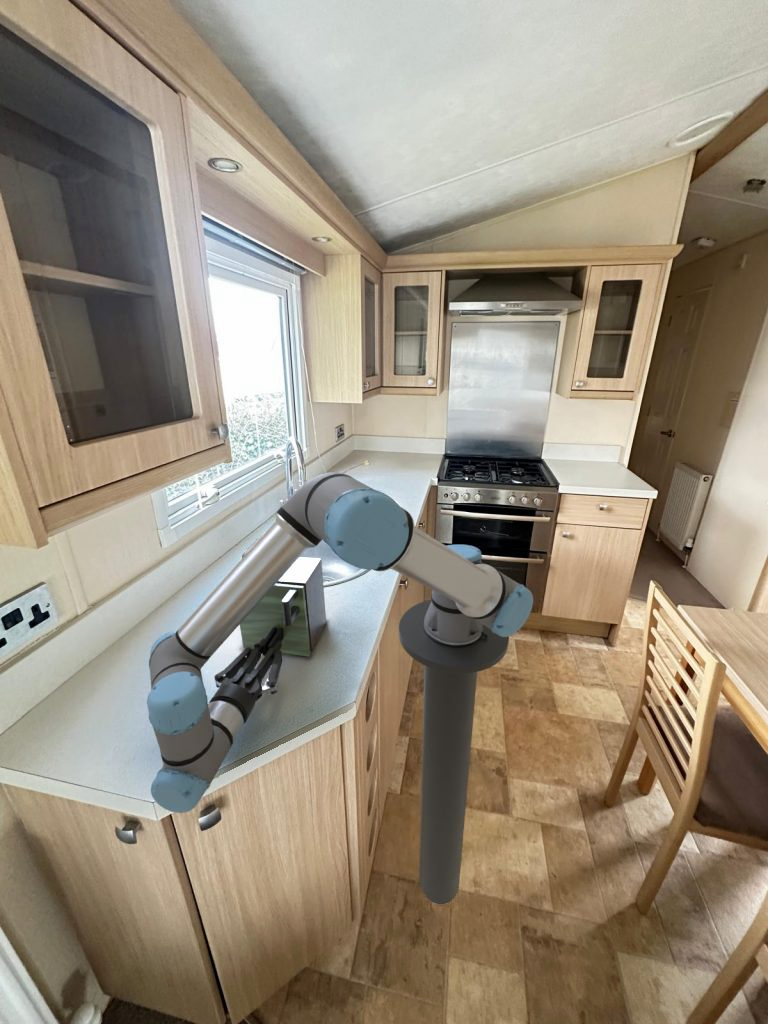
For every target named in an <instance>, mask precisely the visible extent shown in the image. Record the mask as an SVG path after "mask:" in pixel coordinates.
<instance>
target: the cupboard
mask: <svg viewBox="0 0 768 1024" xmlns="http://www.w3.org/2000/svg"><path fill="white" fill-rule="evenodd" d="M277 583H278V584H288V585H298V586H304V592H305V602H306V612H307V622H308V632H309V643H310V653H312V652H313V651H314V649H315V646H316V645H317V642H318V641H319V639H320V636H321V634H322V632H323V629H324V627H325V626H326V624H327V613H326V601H325V600H326V599H325V587H324V577H323V563H322V558H319V557H304V556H303V557H302V556H300V557H299V558H298V559H297V560H296V562H295V563H294V564H293V565H292V566H291V567H290V568H289V569H288V571H287V572H286V573H285V574H284V575H283V576H282V577H281V578H280V580H279V581H278V582H277Z"/></svg>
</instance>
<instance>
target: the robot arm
mask: <svg viewBox="0 0 768 1024" xmlns="http://www.w3.org/2000/svg"><path fill="white" fill-rule="evenodd" d="M414 521H415V520H414V518H413V516H412V514H411V513H410V512H409V511H408V510H406V509H405V508H404V507H402V506H400V504H398V503H397V502H396V500H395V499H393V497H391V496H389V495H388V494H386V493H384V492H382V491H380V490H377V489H375V488H373V487H371V486H368V485H367V484H365V483H363V482H361V481H360V480H357V479H356V478H355V477H353V476H351V475H349V474H346V473H344V472H337V471H330V472H325V473H321V474H319V475H316V476H314V477H312V478H311V479H310V480H308V481H306V482H305V483H304V484H303V485H301V486H300V487H299V488H298V489H297V490H296V491H295V492H294V493H292V495H291V496H289V497H288V499H287V500H286V501H285V502H283V504H282V506H280V508H278V509H277V511H276V512H275V521H274V522H273V523H272V525H271V526H270V527H269V528H268V529H267V530H266V532H264V533H263V534H264V535H263V534H262V535H263V536H262V537H261V538H260V539H259V541H258V542H257V543H256V544H255V545H254V546H253V547H252V548H251V549H250V551H249V552H248V553H247V554H246V555H245V556H244V557H243V558H242V557H241V559H240V560H239V562H238V563H237V564H236V565H235V566H234V567H233V568H232V569H231V570H230V572H229V573H228V574H227V575H226V576H224V578H223V579H222V581H221V582H220V583H218V585H217V586H216V587H215V588H214V589H213V590H212V591H211V592H210V594H209V595H208V596H207V597H206V598H205V599H204V600H203V602H202V603H201V604H200V605H199V606H198V607H197V608H196V609H195V610H194V612H193V613H192V614H191V615H190V616H189V617H188V618H187V619H186V620H185V621H184V623H183V624H182V625H180V627H179V628H178V629H177V630H172V631H169V632H167V633H165V634H162V635H160V636H159V637H158V638H157V639H156V640H155V641H154V642H153V643H152V646H151V647H150V652H149V659H148V668H149V676H150V677H149V679H150V691H149V693H148V695H147V698H146V705H147V711H148V719H149V723H150V724H151V726H152V729H153V733H154V735H155V738H156V741H157V745H158V748H159V753H160V757H161V761H162V767H161V769H160V770H158V771H157V773H156V776H155V777H154V779H153V781H152V783H151V785H150V794H151V797H152V798H153V800H154V801H155V803H156V804H157V805H158V806H160V807H161V808H162V809H164V810H166V811H168V812H172V813H178V814H184V813H189V812H191V811H192V810H193V809H195V808H196V807H197V806H198V804H199V803H200V800H201V799H202V798H203V796H204V795H205V793H206V792H207V790H208V789H210V787H211V784H212V782H213V781H214V779H215V777H216V775H217V774H218V772H219V770H220V768H221V766H222V764H223V763H224V761H225V759H226V757H227V756H228V754H229V751H230V749H231V748H232V746H233V745H234V742H235V741H236V739H237V738H238V736H239V735H240V732H241V731H242V729H243V727H244V725H245V724H246V722H247V721H248V719H249V717H250V716H251V714H252V712H253V710H254V708H255V705H256V703H257V701H259V700H260V699H262V697H263V696H264V694H268V693H270V694H271V695H276V694H277V693H278V689H277V682H278V678H279V677H280V672H281V669H282V666H283V662H284V661H283V660H284V659H283V653H282V651H280V649H281V647H282V643H281V642H282V640H283V638H284V634H283V628H279V630H278V631H277V629H276V627H273V628H272V630H271V631H270V633H269V634H268V636H267V637H266V639H264V638H263V639H262V640H261V642H260V643H256V644H255V645H254V647H255V648H254V649H251V648H250V647H248V648H244V650H243V651H242V652H241V653H239V655H237V657H236V658H235V659H233V660H232V661H231V662H230V663H229V664H228V665H227V666H226V667H225V668H224V669H223V670H221V671H219V672H217V673H216V674H215V675H214V683H215V687H216V688H218V689H217V690H216V692H214V694H213V696H212V697H211V699H210V700H209V699H208V695H207V692H206V687H205V684H204V681H203V675H202V674H203V673H202V668H203V667H204V665H206V664H207V662H208V661H209V660H210V658H211V657H212V656H213V655H214V654H215V653H216V651H217V650H218V649H219V648H220V647H221V646H222V645H223V644H224V642H226V640H228V638H229V637H230V636H231V635H232V634H233V632H234V631H235V630H237V628H238V627H240V623H241V622H242V621H243V620H244V619H245V618H246V617H247V616H248V614H249V613H250V612H251V611H252V610H253V609H254V608H255V607H256V605H257V604H258V603H259V602H260V601H261V600H262V599H263V598H264V596H265V595H266V594H267V593H268V592H269V591H270V590H271V589H272V587H273V586H274V585H275V584H276V583H277V582H278V581H279V580H280V578H281V577H282V576H283V575H284V574H285V573H286V572H287V571H288V569H289V568H290V567H291V566H292V565H293V564H294V563H295V562H296V560H297V559H298V558H299V557H302V555H303V554H304V553H305V552H306V551H307V550H308V549H312V548H313V549H314V548H316V547H317V546H318V545H319V544H320V543H321V542H322V541H323V542H325V544H326V545H327V546H328V547H329V548H330V549H331V550H332V552H334V554H335V555H337V557H338V558H340V559H341V560H342V561H343V562H345V563H347V564H349V565H351V566H353V567H355V568H357V569H360V570H369V571H372V570H373V571H375V572H385V571H389V570H392V571H395V572H396V573H398V574H400V575H401V576H404V577H406V578H408V579H410V580H412V581H414V582H416V583H417V584H419V585H422V586H424V587H426V588H428V589H430V590H431V600H432V601H431V604H430V606H429V608H428V611H427V613H426V615H425V619H424V631H425V633H426V635H427V636H428V637H429V638H430V639H431V640H433V641H434V642H436V643H438V644H441V645H444V646H448V647H466V646H470V645H472V644H474V643H476V642H477V641H479V639H480V638H481V636H484V637H485V638H487V637H488V635H486V634H485V633H484V632H483V624H484V625H485V626H487V627H488V628H489V629H491V630H492V632H493V633H496V634H497V635H499V636H501V637H508V636H509V637H510V636H512V635H514V634H515V633H516V632H518V631H519V630H520V629H521V628H523V626H524V624H525V623H526V621H527V620H528V619H529V616H530V614H531V612H532V609H533V604H534V597H533V593H532V591H531V590H530V589H529V588H527V587H525V585H524V584H521V583H519V582H517V581H515V580H514V579H512V578H511V577H509V576H507V575H506V574H504V573H502V572H501V571H499V570H498V569H496V568H495V567H493V566H491V565H489V564H486V563H484V562H482V559H483V555H482V551H481V550H480V549H479V548H478V547H476V546H473V545H469V544H448V545H445V544H444V543H442V542H440V541H439V540H437V539H435V537H432V536H431V535H429V534H427V533H426V532H424V531H423V530H421V529H420V528H418V527H416V526H415V522H414ZM259 661H260V662H259ZM267 673H268V678H267V679H266V680H265V682H264V685H262V683H263V679H264V678H265V676H266V675H267ZM208 700H209V702H208Z"/></svg>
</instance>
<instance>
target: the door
mask: <svg viewBox="0 0 768 1024" xmlns="http://www.w3.org/2000/svg"><path fill="white" fill-rule="evenodd" d="M273 627H276V629H277V631H278V630H279V628H283V634H284V638H283V640H282V642H281V643H282V647H281V649H280V651H282V654H287V655H293V656H302V657H310V656H311V653H312V652H310V643H309V632H308V622H307V612H306V602H305V592H304V586H298V585H288V584H278V583H276V584H275V585H274V586H273V587H272V589H271V590H270V591H269V592H268V593H267V594H266V595H265V596H264V598H263V599H262V600H261V601H260V602H259V603H258V604H257V605H256V607H255V608H254V609H253V610H252V611H251V612H250V613H249V614H248V616H247V617H246V618H245V619H244V620H243V621H242V622H241V623H240V625H239V629H240V630H239V631H240V635H241V641H242V647H243V649H246V648H248V647H250V648H251V649H254V648H255V647H254V645H255V644H256V643H260V642H261V640H262V639H263V638H264V639H266V637H267V636H268V634H269V633H270V631H271V630H272V628H273Z"/></svg>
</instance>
